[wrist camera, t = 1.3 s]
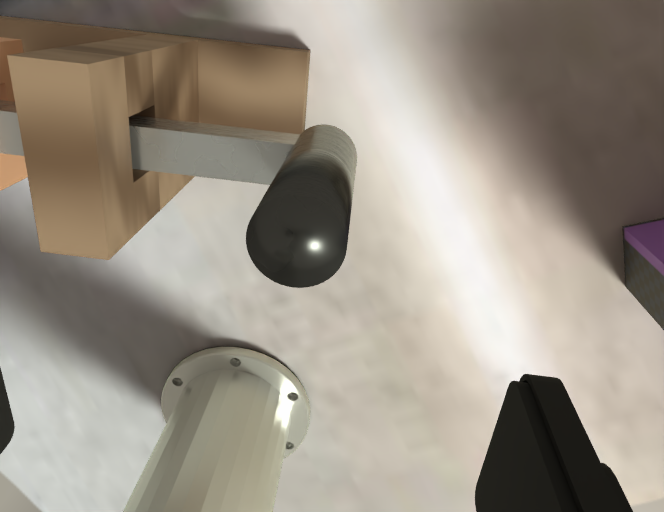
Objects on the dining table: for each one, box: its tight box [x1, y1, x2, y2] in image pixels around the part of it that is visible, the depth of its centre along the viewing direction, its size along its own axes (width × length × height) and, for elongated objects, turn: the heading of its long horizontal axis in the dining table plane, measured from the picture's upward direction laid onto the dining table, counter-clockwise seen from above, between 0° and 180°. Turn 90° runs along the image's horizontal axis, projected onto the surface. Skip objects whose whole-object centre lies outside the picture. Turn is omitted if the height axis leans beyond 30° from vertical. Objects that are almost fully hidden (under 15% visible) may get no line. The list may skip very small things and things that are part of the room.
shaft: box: [0, 100, 357, 288], centre depth 21 cm, size 3×22×10 cm, turn 84°
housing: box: [0, 16, 310, 260], centre depth 27 cm, size 8×21×14 cm, turn 85°
